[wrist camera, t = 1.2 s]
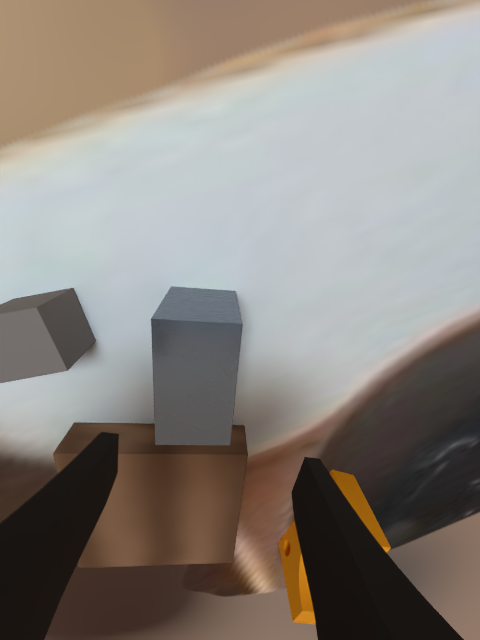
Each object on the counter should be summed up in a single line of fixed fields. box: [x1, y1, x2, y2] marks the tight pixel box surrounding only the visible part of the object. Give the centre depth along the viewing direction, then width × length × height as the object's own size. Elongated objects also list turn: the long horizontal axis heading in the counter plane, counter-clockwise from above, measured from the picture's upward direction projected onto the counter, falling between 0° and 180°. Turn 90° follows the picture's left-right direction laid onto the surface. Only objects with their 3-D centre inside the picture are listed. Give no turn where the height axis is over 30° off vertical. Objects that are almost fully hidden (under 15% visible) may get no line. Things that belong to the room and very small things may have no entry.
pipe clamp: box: [278, 470, 391, 624], centre depth 26 cm, size 12×4×6 cm, turn 157°
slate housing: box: [151, 287, 243, 445], centre depth 17 cm, size 4×9×6 cm, turn 175°
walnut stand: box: [53, 423, 248, 568], centre depth 24 cm, size 14×14×3 cm
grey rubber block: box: [0, 288, 96, 383], centre depth 17 cm, size 4×4×4 cm
